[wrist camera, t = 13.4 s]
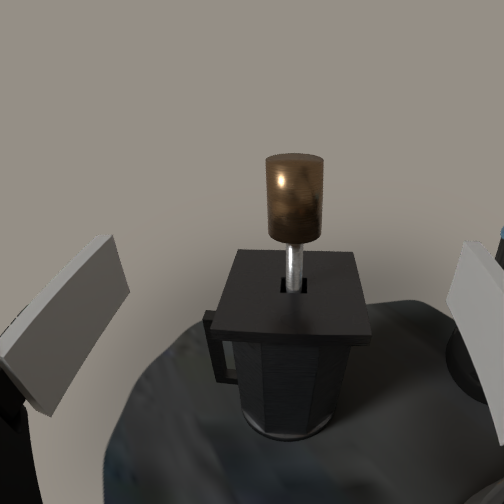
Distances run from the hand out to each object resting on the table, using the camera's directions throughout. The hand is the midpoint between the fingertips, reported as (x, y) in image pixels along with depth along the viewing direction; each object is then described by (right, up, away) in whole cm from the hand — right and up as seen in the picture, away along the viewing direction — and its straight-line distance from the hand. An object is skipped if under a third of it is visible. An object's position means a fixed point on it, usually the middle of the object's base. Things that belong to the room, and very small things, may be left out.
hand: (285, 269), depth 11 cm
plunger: (+3, -13, +19) cm, 23 cm away
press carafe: (+2, -16, +21) cm, 26 cm away
